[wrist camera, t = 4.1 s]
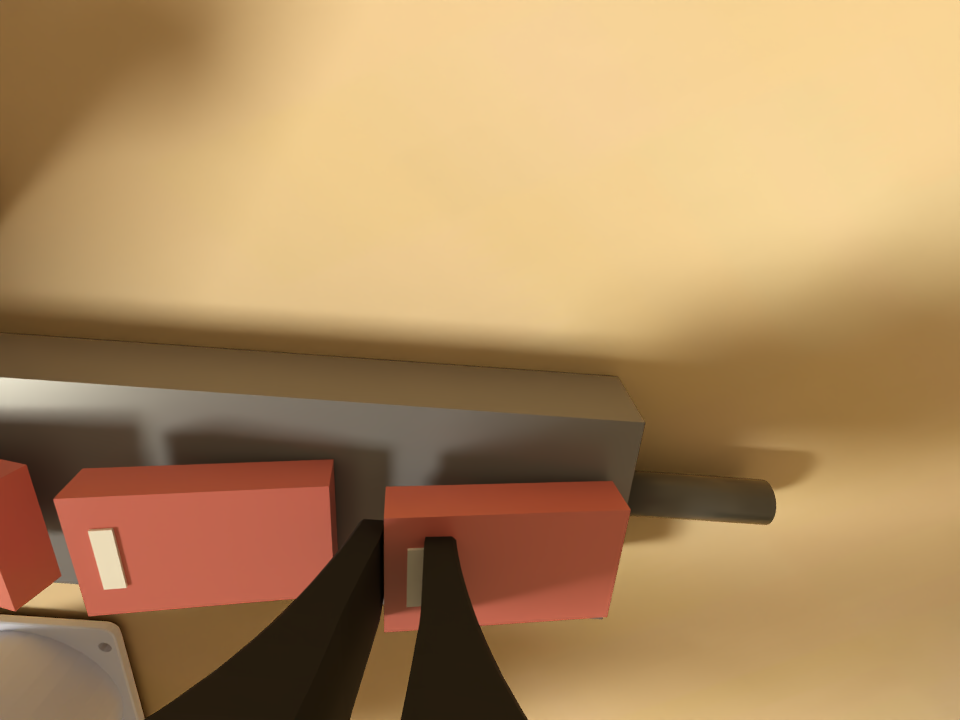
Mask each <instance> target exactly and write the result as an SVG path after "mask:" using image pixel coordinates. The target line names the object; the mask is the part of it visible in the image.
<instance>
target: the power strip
mask: <svg viewBox="0 0 960 720" xmlns="http://www.w3.org/2000/svg"><path fill="white" fill-rule="evenodd" d="M644 425H645V421H644V420H643V418H642V416H641V415H640V413H639V411H638V410H637V408H636V406H635V405H634V403H633V401H632V400H631V398H630V396H629V394H628V393H627V391H626V389H625V388H624V386H623V384H622V383H621V381H620V379H619V378H618V377H617V376H603V375H589V374H575V373H561V372H547V371H533V370H519V369H504V368H490V367H476V366H462V365H448V364H434V363H420V362H406V361H392V360H377V359H363V358H349V357H335V356H321V355H307V354H293V353H279V352H265V351H250V350H236V349H222V348H208V347H194V346H180V345H166V344H152V343H138V342H123V341H109V340H95V339H81V338H67V337H53V336H39V335H25V334H11V333H0V459H2V460H7V461H12V462H16V463H21V464H26V465H27V468H28V471H29V474H30V477H31V481H32V484H33V487H34V490H35V493H36V496H37V500H38V503H39V506H40V509H41V512H42V515H43V519H44V522H45V525H46V528H47V531H48V534H49V538H50V541H51V544H52V547H53V550H54V553H55V557H56V560H57V563H58V566H59V569H60V572H61V577H60V578H58V579H57V580H56V581H54V582H55V583H70V584H79V583H78V580H77V577H76V573H75V570H74V567H73V563H72V560H71V557H70V554H69V550H68V547H67V544H66V540H65V537H64V534H63V530H62V527H61V524H60V520H59V517H58V514H57V510H56V507H55V504H54V500H53V499H54V498H55V496H56V495H57V494H58V493H59V492H60V491H61V490H62V489H63V488H64V487H65V486H66V485H67V484H68V483H69V482H70V481H71V480H72V479H73V478H74V477H75V476H76V475H77V474H78V473H79V472H80V471H81V470H82V468H110V467H137V466H164V465H192V464H219V463H247V462H274V461H301V460H329V459H334V479H335V501H336V522H337V543H338V550H339V549H340V548H341V546H342V545H343V544H344V542H345V541H346V540H347V539H348V537H349V536H350V534H351V533H352V532H353V530H354V529H355V528H356V526H357V525H358V523H359V522H360V521H361V520H363V519H373V520H384V508H385V491H386V487H392V486H431V485H470V484H508V483H547V482H586V481H613V483H614V484H615V486H616V487H617V489H618V490H619V492H620V494H621V495H622V497H623V498H624V500H625V502H626V503H627V505H628V506H629V508H630V509H631V511H630V516H643V517H658V518H673V519H687V520H702V521H716V522H731V523H745V524H760V525H767V524H770V523H771V522H772V520H773V519H774V516H775V512H776V499H775V495H774V492H773V489H772V487H771V486H770V484H769V483H768V482H767V481H765V480H759V479H745V478H730V477H716V476H702V475H687V474H673V473H658V472H644V471H635V467H636V462H637V458H638V453H639V448H640V444H641V439H642V435H643V430H644ZM383 605H384V600H383ZM592 619H603V617H599V618H592Z"/></svg>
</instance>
